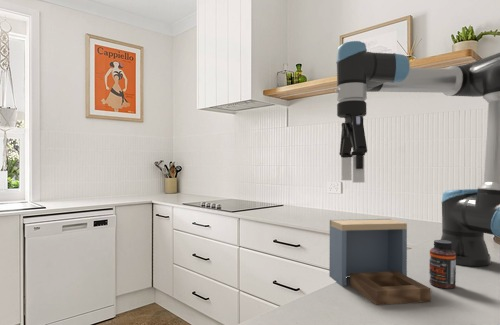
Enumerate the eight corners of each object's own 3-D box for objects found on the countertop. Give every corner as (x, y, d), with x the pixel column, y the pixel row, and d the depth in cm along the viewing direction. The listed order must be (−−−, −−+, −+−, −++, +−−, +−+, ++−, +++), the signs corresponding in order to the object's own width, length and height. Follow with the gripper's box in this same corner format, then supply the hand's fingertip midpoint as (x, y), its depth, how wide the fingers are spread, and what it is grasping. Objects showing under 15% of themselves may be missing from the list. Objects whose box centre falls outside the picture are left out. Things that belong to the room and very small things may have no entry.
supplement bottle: (425, 285, 89) (425, 240, 89) (433, 280, 93) (433, 237, 93) (451, 291, 85) (451, 244, 85) (458, 285, 89) (458, 241, 89)
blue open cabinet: (389, 273, 98) (389, 218, 99) (406, 282, 90) (406, 223, 91) (329, 276, 95) (329, 219, 96) (341, 286, 88) (341, 224, 88)
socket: (396, 282, 91) (396, 271, 91) (430, 301, 78) (430, 288, 78) (350, 284, 88) (350, 273, 88) (376, 304, 76) (376, 291, 76)
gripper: (329, 109, 105) (329, 179, 105) (347, 92, 80) (348, 183, 80) (354, 109, 105) (354, 179, 105) (380, 91, 80) (381, 183, 80)
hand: (352, 181), depth 92 cm, fingers open, 13 cm apart
